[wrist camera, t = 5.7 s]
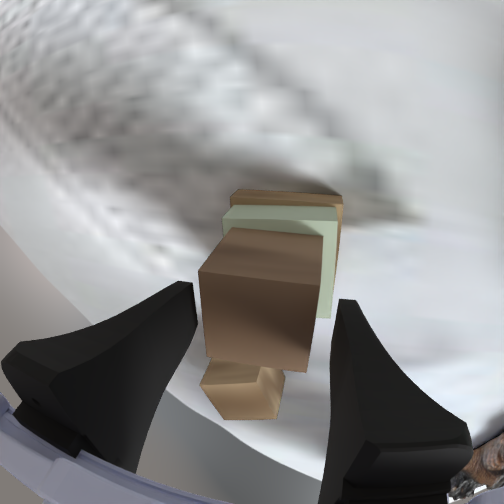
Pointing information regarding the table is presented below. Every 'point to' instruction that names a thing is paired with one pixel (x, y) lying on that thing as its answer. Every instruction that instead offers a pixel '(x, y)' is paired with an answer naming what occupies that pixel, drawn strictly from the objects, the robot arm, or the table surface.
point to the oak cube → (243, 390)
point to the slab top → (295, 221)
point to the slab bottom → (291, 203)
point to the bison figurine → (481, 470)
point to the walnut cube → (261, 297)
